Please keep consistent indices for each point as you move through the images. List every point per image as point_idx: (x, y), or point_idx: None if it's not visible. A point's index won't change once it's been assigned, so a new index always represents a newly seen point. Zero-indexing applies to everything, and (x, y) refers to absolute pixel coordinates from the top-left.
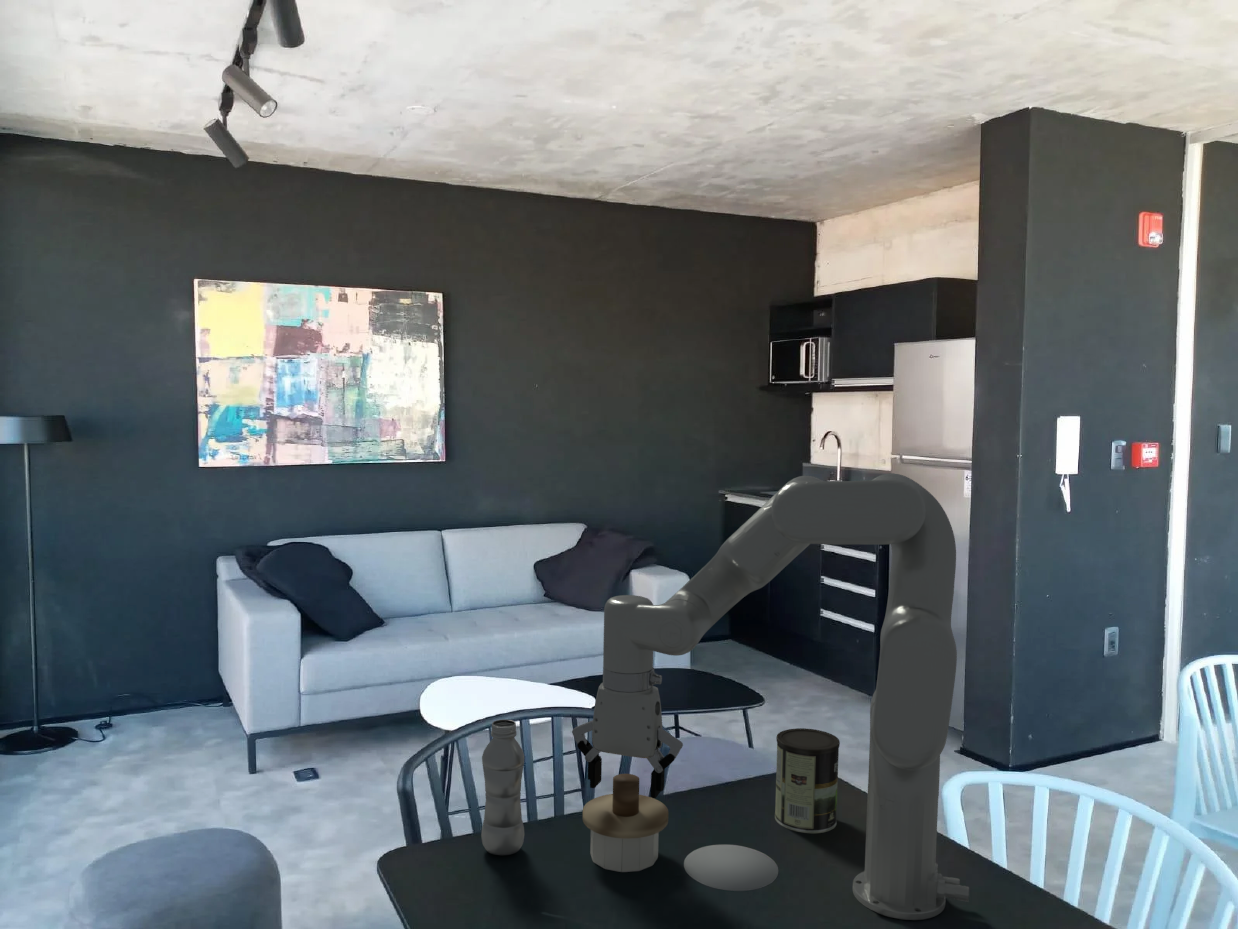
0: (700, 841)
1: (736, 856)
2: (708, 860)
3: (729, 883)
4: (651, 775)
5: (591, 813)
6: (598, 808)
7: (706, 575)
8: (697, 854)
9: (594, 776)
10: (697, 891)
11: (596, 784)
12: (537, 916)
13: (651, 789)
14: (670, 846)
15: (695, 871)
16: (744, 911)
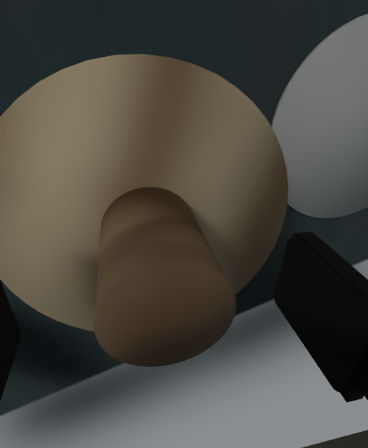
0: (301, 2)
1: None
2: (319, 124)
3: (349, 195)
4: (331, 382)
5: (50, 291)
6: (49, 253)
7: None
8: (296, 103)
9: (1, 394)
10: (294, 230)
11: (11, 325)
12: (88, 373)
13: (292, 324)
14: (226, 70)
15: (292, 180)
16: (356, 249)
